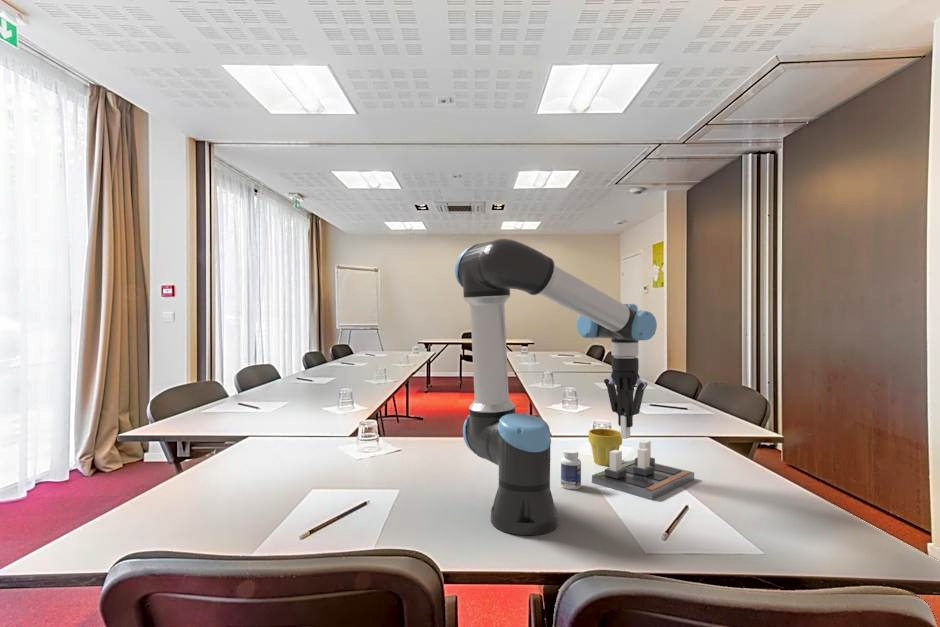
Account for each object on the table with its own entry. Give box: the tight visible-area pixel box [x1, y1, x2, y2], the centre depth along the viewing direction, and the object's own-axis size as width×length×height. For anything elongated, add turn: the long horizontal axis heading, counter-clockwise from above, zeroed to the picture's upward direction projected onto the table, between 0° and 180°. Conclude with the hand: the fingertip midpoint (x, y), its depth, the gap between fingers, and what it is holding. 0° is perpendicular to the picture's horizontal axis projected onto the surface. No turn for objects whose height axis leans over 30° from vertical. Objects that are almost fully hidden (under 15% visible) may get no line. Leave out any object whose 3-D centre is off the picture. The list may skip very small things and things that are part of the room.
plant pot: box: [588, 427, 623, 467], centre depth 161 cm, size 10×10×10 cm
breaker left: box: [604, 449, 626, 479], centre depth 141 cm, size 4×4×7 cm
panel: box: [591, 459, 695, 501], centre depth 144 cm, size 24×18×2 cm
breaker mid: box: [633, 448, 654, 476], centre depth 144 cm, size 4×4×7 cm
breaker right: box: [634, 440, 656, 465], centre depth 152 cm, size 4×4×7 cm
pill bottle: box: [560, 448, 582, 490], centre depth 139 cm, size 5×5×10 cm
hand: (625, 437), depth 148 cm, fingers closed
